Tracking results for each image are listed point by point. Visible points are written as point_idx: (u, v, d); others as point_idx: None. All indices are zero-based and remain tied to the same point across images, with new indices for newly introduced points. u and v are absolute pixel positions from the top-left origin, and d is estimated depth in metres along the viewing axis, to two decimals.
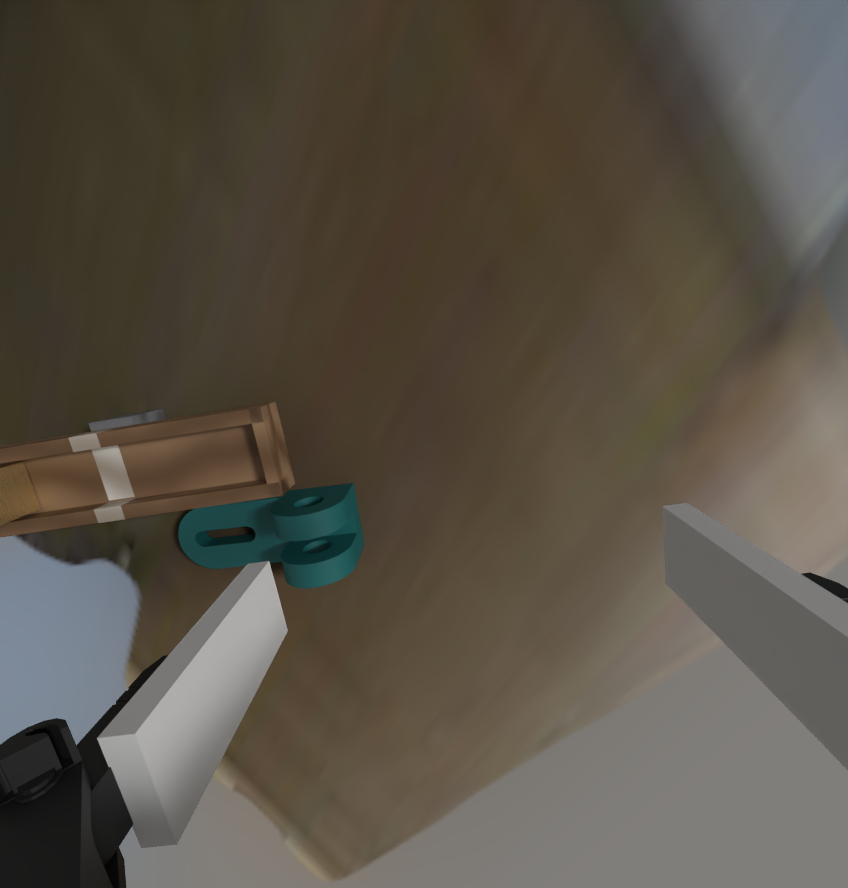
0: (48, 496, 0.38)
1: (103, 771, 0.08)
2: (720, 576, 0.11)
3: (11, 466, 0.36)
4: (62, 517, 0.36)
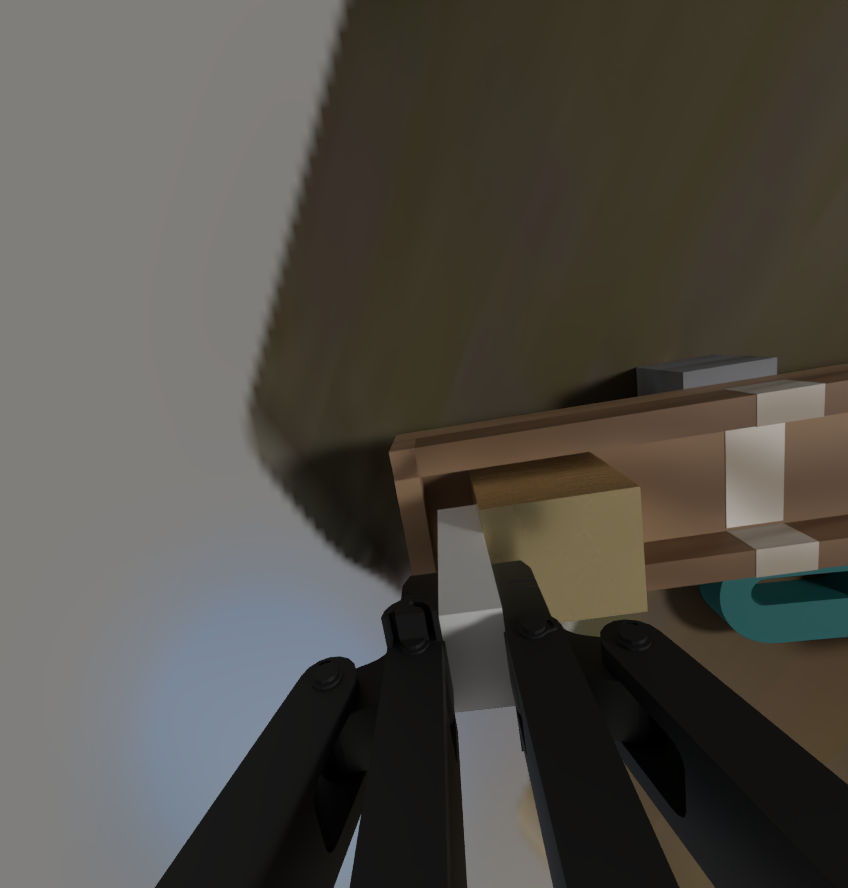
0: None
1: None
2: None
3: None
4: (681, 566, 0.17)
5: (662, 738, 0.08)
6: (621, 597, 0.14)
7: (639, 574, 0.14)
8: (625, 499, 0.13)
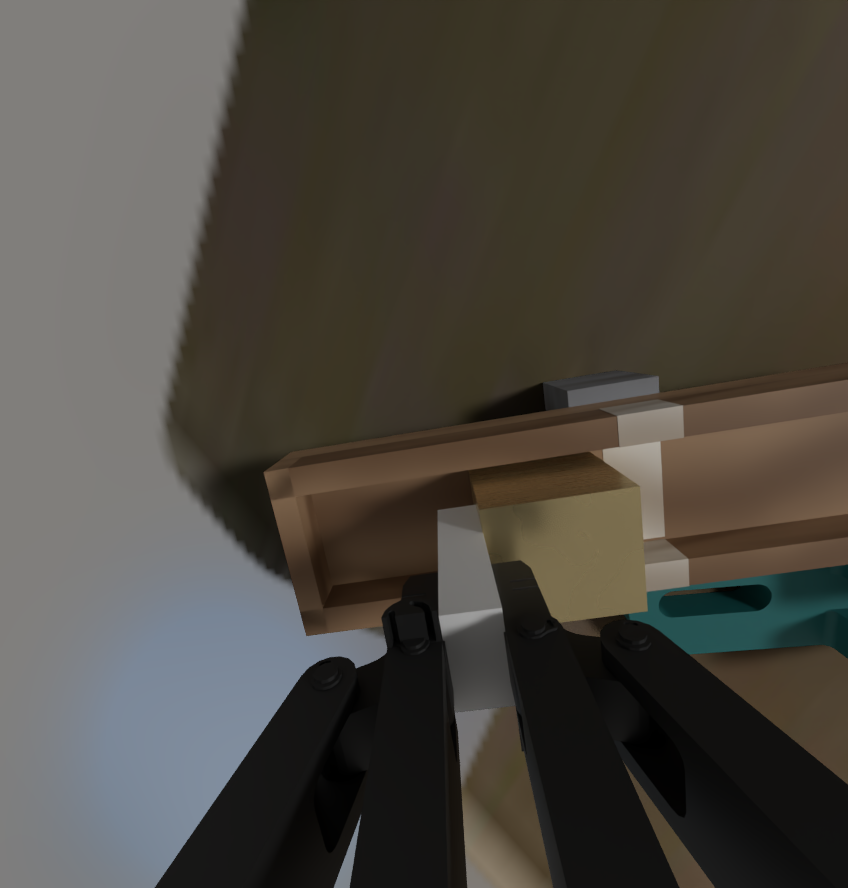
0: None
1: None
2: None
3: None
4: None
5: (661, 738, 0.08)
6: (621, 597, 0.14)
7: (639, 574, 0.14)
8: (625, 499, 0.13)
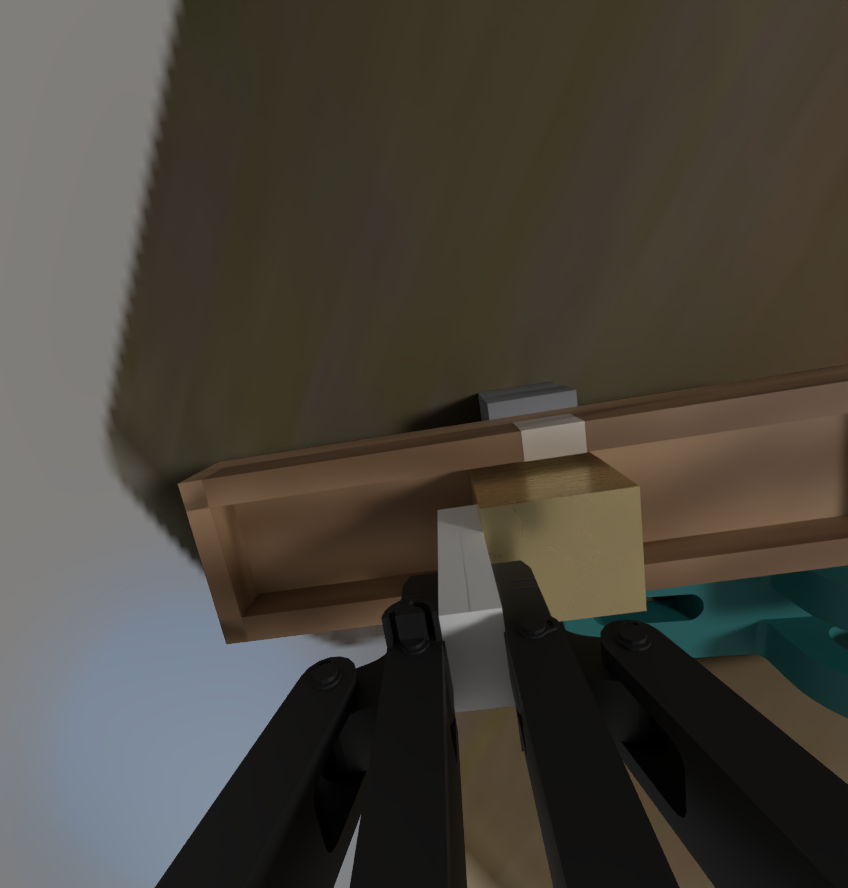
0: (408, 546, 0.19)
1: None
2: None
3: None
4: None
5: (662, 738, 0.08)
6: (620, 596, 0.14)
7: (638, 573, 0.14)
8: (625, 499, 0.13)
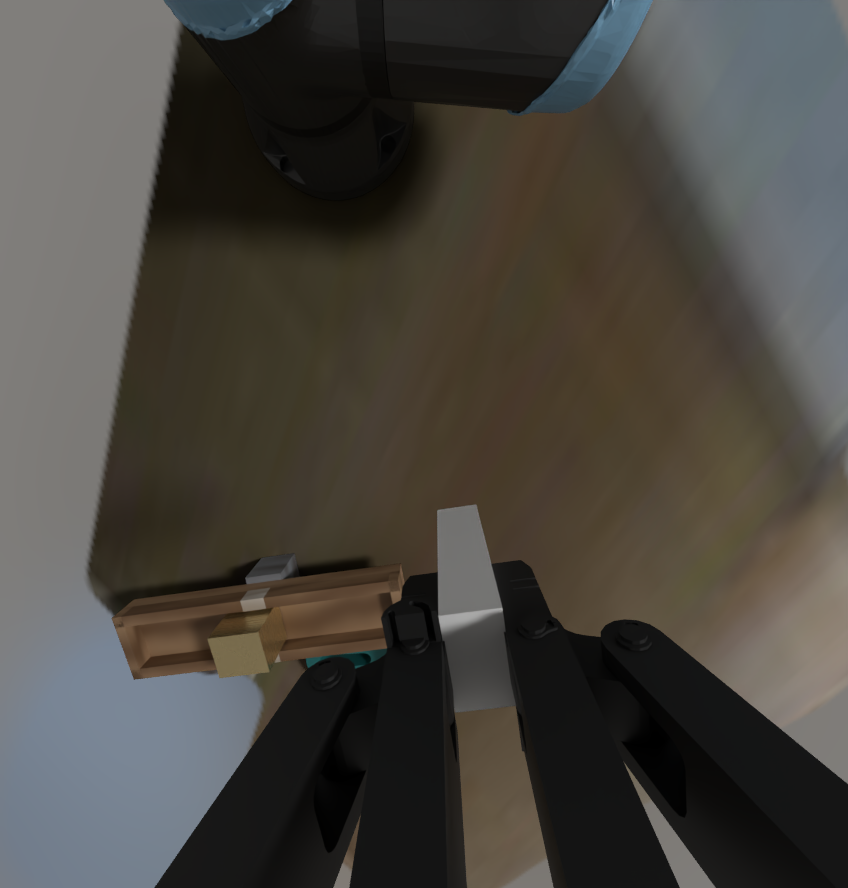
0: None
1: None
2: None
3: (273, 608, 0.44)
4: None
5: (662, 738, 0.08)
6: (259, 667, 0.41)
7: (264, 659, 0.41)
8: (254, 636, 0.40)
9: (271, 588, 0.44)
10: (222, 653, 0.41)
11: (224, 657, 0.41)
